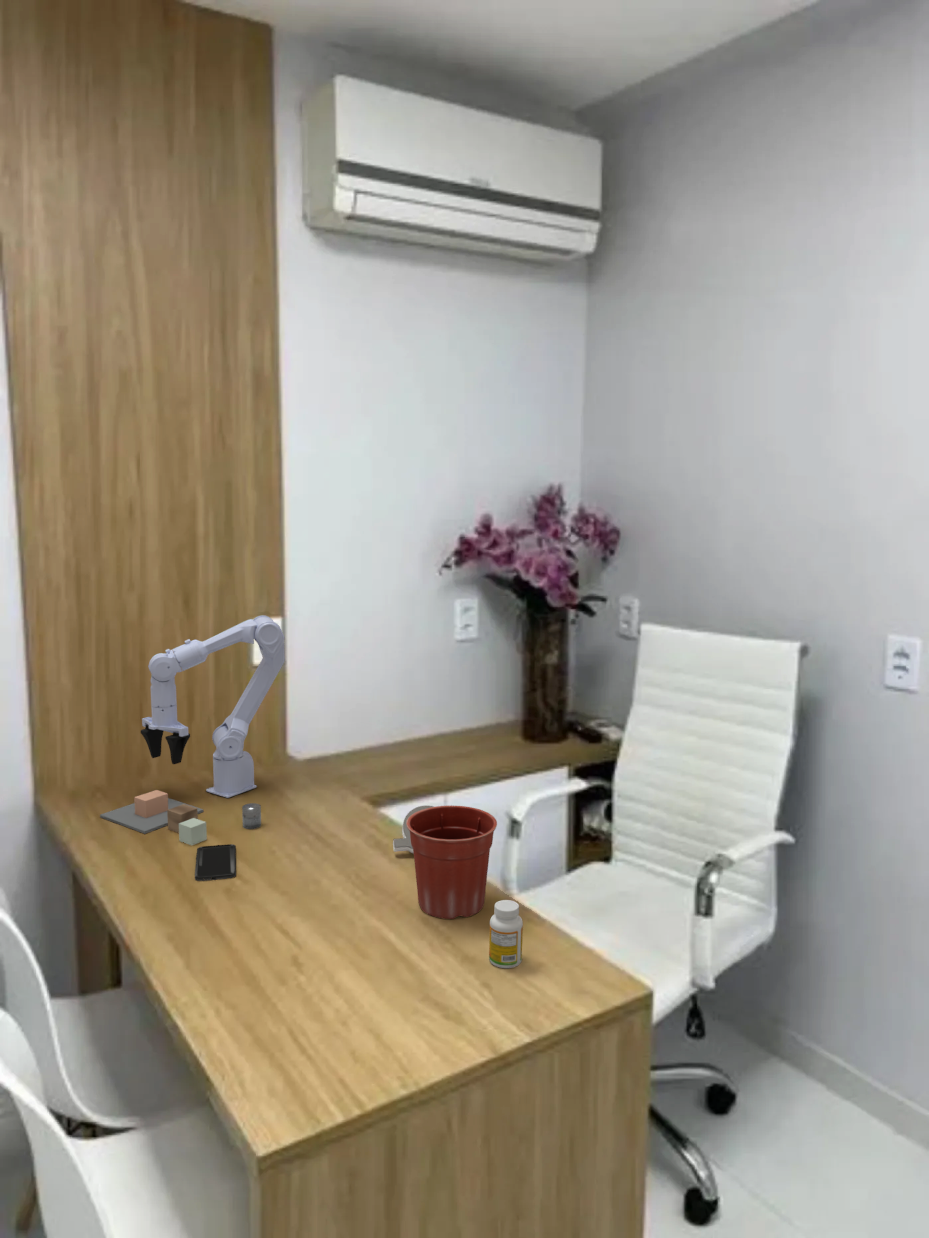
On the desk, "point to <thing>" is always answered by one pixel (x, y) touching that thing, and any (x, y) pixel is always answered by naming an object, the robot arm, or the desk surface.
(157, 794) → the terracotta brick
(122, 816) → the desk mat
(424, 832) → the flower pot
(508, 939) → the supplement bottle
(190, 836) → the square sage brick
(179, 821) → the walnut cube
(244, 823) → the metal cylinder
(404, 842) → the grey disc with foot
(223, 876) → the phone
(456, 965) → the desk surface
